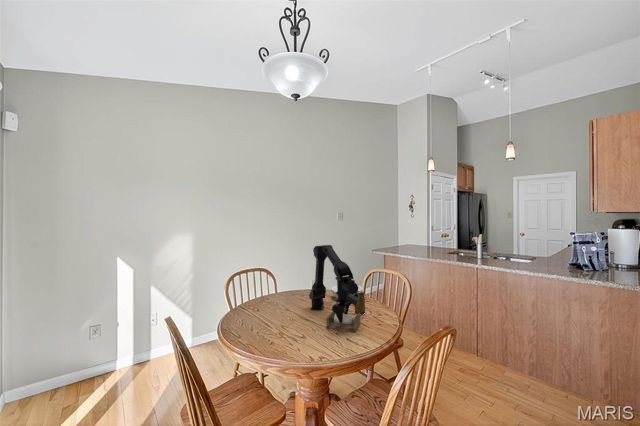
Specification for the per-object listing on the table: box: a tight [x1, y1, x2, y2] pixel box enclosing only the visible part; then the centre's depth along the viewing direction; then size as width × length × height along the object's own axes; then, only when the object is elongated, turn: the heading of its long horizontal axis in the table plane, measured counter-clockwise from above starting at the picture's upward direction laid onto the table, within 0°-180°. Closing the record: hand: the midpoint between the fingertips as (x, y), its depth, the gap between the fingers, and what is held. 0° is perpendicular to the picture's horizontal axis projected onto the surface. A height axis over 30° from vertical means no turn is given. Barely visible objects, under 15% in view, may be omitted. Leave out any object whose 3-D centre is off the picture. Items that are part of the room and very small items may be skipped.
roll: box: [334, 313, 355, 326], centre depth 156 cm, size 9×5×5 cm, turn 69°
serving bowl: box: [331, 285, 364, 299], centre depth 202 cm, size 21×21×7 cm
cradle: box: [325, 310, 361, 333], centre depth 156 cm, size 15×11×6 cm
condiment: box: [351, 291, 370, 317], centre depth 174 cm, size 7×8×12 cm
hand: (343, 319), depth 156 cm, fingers open, 9 cm apart
